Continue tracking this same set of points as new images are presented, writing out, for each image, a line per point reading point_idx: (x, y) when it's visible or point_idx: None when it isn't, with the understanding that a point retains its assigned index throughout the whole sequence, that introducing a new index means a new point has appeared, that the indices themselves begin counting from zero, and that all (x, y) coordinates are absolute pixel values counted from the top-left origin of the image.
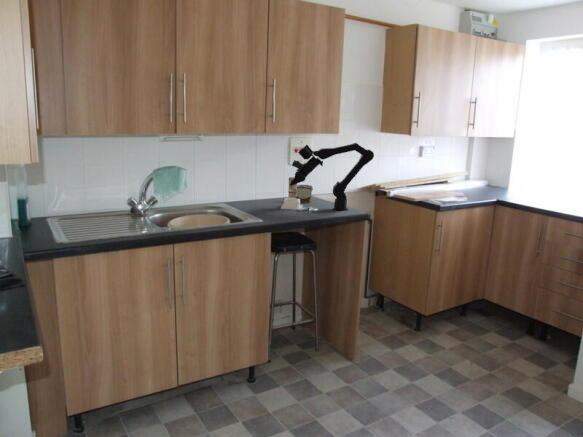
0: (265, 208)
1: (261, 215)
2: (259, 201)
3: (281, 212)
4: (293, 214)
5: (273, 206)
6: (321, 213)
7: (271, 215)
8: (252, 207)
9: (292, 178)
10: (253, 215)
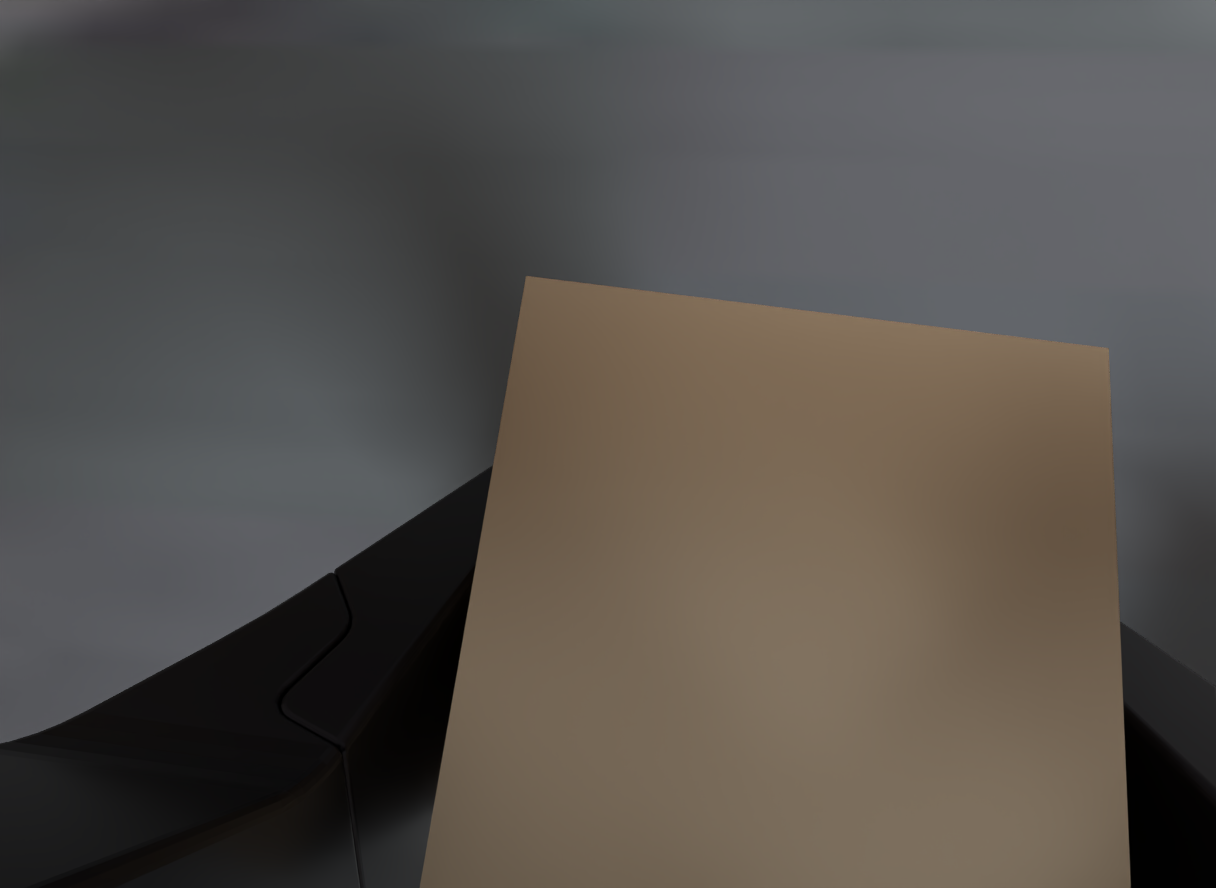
0: (594, 174)
1: (81, 110)
2: (1170, 101)
3: (265, 405)
4: (75, 601)
5: (769, 300)
6: None
7: (57, 243)
8: (665, 3)
9: (485, 547)
10: (98, 12)
